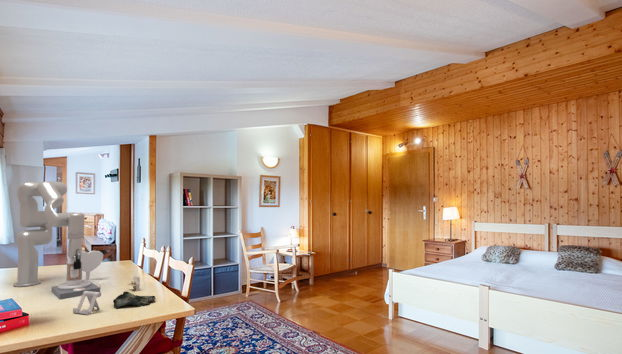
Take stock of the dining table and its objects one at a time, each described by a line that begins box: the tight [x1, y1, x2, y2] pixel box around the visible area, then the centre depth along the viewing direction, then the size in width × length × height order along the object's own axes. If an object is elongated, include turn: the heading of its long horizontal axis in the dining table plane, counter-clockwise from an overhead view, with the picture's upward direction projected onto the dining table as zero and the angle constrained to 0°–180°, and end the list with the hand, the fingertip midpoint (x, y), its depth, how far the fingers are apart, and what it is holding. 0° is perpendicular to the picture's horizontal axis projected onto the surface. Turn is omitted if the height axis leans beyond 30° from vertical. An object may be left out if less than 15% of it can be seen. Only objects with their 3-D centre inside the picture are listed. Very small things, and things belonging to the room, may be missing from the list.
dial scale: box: [51, 280, 101, 300], centre depth 197 cm, size 22×18×4 cm
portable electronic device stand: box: [72, 291, 102, 316], centre depth 162 cm, size 9×8×8 cm
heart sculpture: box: [81, 250, 104, 283], centre depth 222 cm, size 16×5×18 cm, turn 128°
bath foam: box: [66, 257, 83, 285], centre depth 199 cm, size 7×7×20 cm
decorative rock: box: [113, 291, 156, 310], centre depth 175 cm, size 19×6×15 cm
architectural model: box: [126, 276, 141, 292], centre depth 200 cm, size 3×7×7 cm, turn 51°
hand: (75, 267), depth 199 cm, fingers open, 9 cm apart
